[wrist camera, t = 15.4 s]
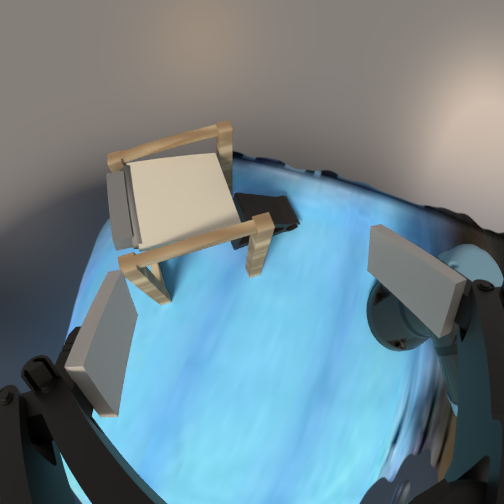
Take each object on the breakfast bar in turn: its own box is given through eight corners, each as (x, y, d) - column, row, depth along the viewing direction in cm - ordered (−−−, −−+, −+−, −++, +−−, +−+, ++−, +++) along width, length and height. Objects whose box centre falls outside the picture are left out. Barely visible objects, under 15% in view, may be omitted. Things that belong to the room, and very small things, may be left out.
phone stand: (222, 222, 53) (276, 212, 58) (233, 250, 51) (289, 237, 56) (234, 192, 45) (295, 185, 50) (248, 224, 43) (310, 212, 48)
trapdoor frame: (260, 274, 50) (274, 226, 32) (160, 305, 47) (120, 273, 29) (229, 190, 55) (228, 120, 38) (141, 216, 52) (107, 154, 35)
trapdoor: (238, 237, 38) (243, 227, 36) (117, 261, 32) (114, 252, 29) (212, 163, 42) (215, 151, 40) (108, 178, 36) (106, 165, 33)
